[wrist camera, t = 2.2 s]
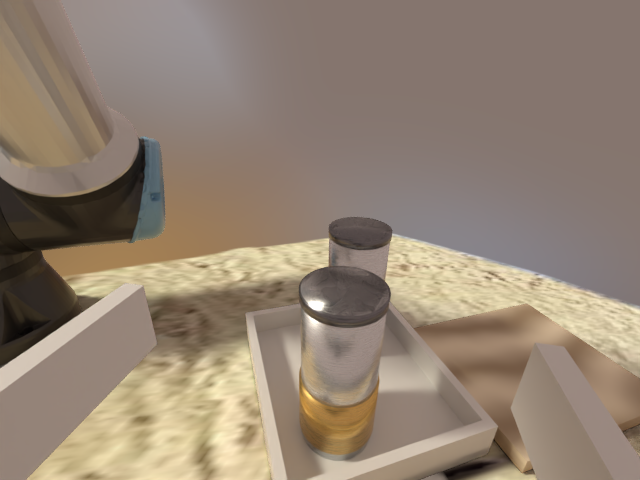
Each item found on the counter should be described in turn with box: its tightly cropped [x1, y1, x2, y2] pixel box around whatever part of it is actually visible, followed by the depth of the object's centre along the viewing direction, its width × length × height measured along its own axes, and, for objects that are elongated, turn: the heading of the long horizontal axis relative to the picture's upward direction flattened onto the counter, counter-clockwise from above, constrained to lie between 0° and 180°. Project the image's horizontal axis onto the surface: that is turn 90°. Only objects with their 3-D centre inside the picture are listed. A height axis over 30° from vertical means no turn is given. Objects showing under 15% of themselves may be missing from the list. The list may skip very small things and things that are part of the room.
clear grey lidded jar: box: [328, 217, 392, 281], centre depth 35 cm, size 6×6×14 cm
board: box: [413, 304, 640, 473], centre depth 35 cm, size 16×18×2 cm
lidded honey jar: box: [299, 266, 391, 461], centre depth 25 cm, size 6×6×14 cm
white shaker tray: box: [245, 302, 498, 480], centre depth 32 cm, size 20×18×4 cm
